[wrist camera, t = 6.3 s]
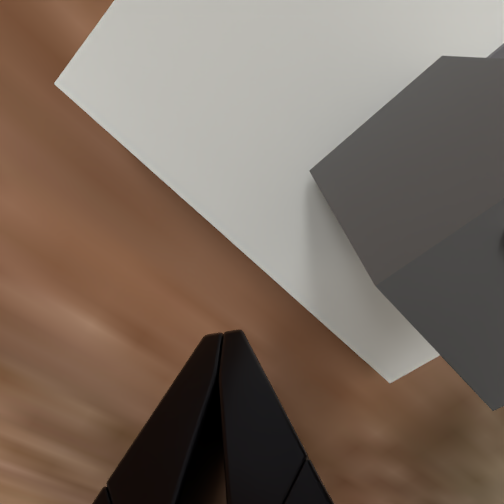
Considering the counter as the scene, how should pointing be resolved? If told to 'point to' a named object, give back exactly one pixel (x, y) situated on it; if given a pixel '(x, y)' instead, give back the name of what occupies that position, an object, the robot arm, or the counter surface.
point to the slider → (434, 211)
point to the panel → (274, 125)
